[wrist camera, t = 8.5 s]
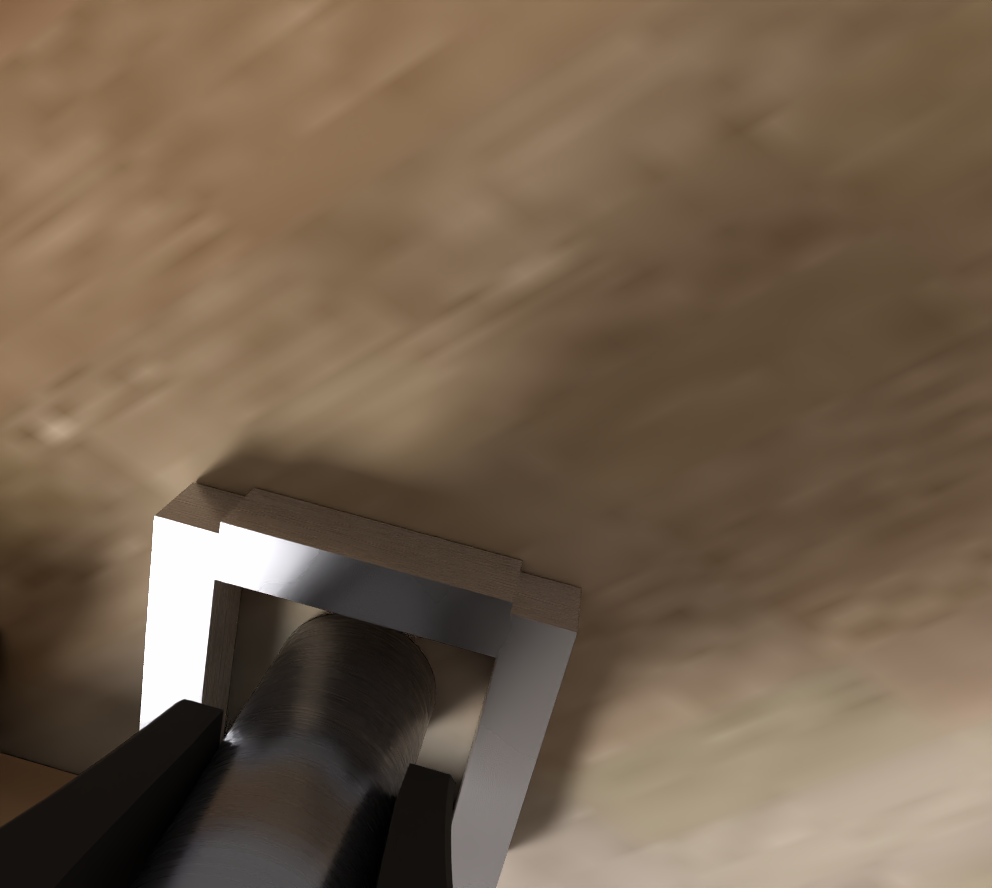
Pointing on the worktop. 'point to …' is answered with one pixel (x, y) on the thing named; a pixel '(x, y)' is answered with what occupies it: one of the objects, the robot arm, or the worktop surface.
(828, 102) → the worktop surface
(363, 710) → the metal cylinder
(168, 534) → the collar
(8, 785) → the socket block
